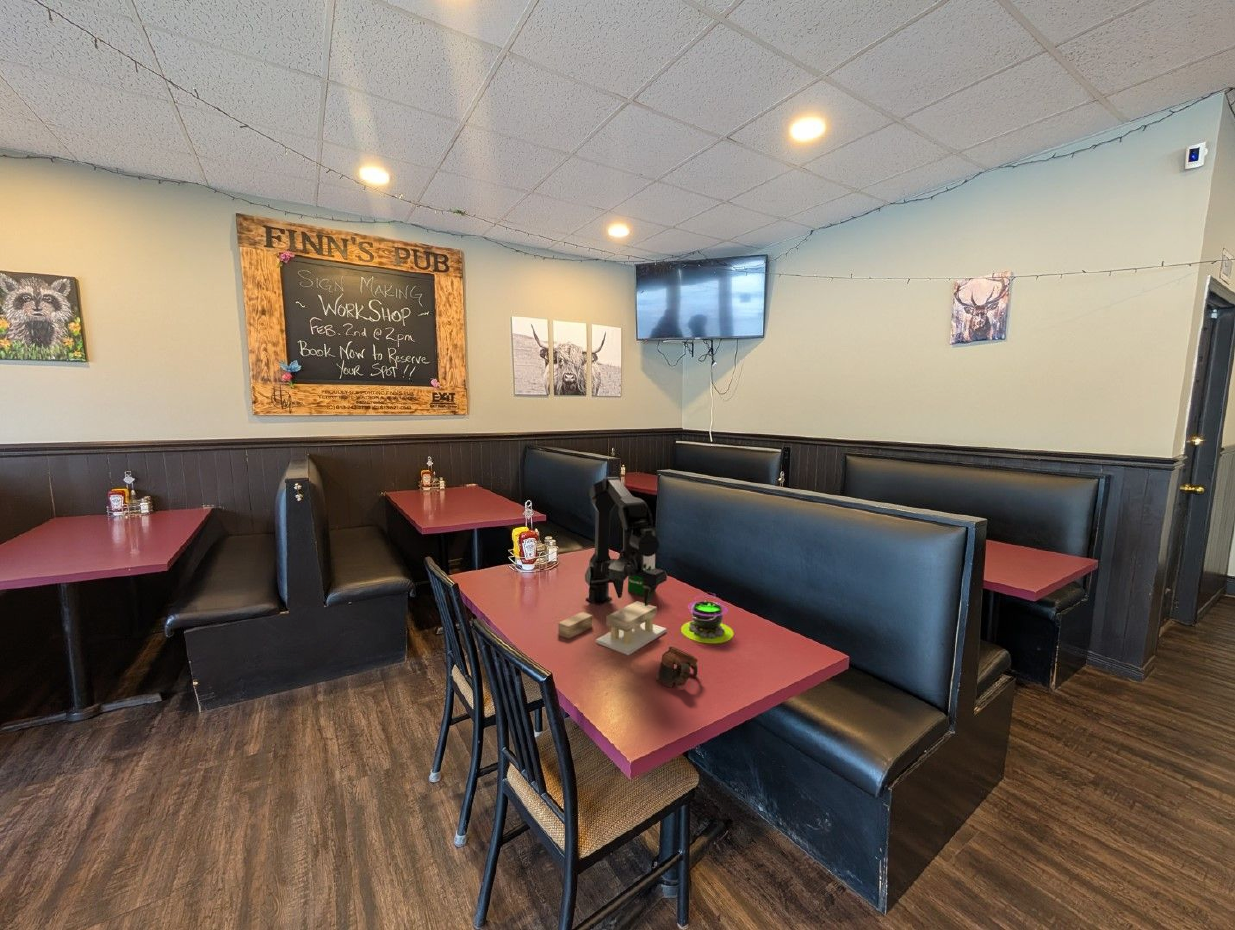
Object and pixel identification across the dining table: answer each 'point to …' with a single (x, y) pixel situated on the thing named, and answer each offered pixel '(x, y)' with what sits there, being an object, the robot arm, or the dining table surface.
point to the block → (575, 625)
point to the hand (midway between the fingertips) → (632, 601)
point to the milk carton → (637, 581)
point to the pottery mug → (678, 674)
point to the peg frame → (631, 637)
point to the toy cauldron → (707, 623)
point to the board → (631, 616)
